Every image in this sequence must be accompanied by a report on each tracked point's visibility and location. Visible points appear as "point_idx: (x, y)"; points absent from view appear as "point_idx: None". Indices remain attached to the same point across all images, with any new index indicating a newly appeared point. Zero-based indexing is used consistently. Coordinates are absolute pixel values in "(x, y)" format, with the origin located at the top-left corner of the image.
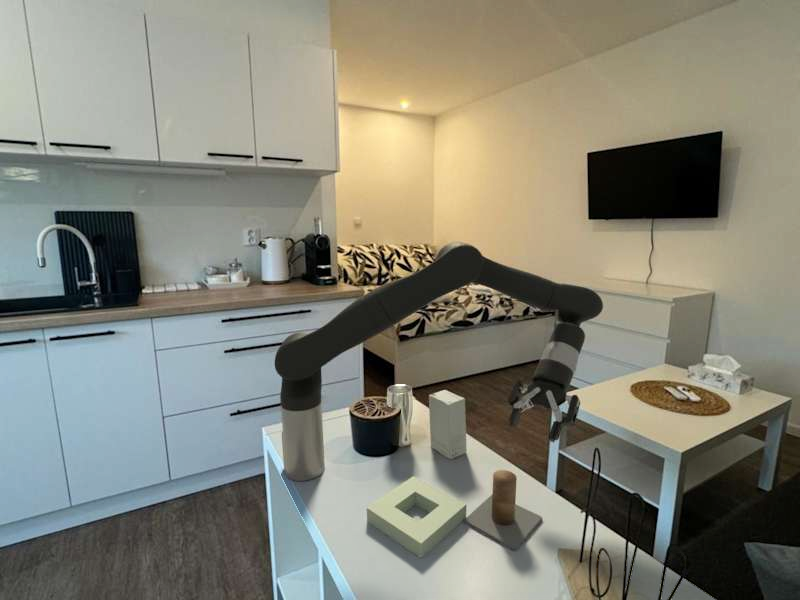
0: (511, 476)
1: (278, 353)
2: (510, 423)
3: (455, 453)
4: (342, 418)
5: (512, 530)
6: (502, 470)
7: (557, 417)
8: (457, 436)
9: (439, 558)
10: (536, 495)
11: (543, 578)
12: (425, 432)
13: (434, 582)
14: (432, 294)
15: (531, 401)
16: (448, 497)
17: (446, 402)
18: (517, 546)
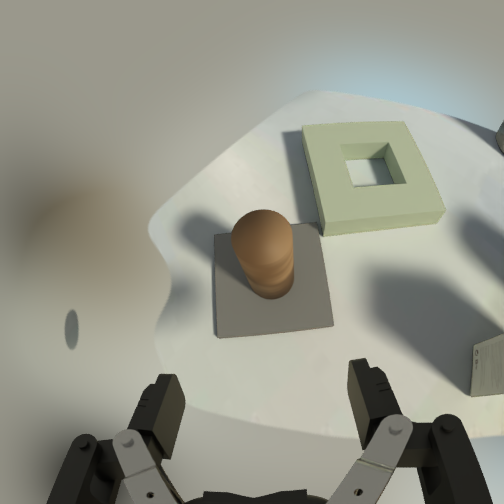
0: (249, 248)
1: None
2: (363, 359)
3: (477, 360)
4: None
5: (239, 264)
6: (282, 252)
7: (133, 445)
8: (501, 362)
9: (286, 156)
10: (267, 400)
11: (164, 228)
12: None
13: (263, 134)
14: None
15: (326, 500)
16: (361, 212)
17: None
18: (214, 242)
